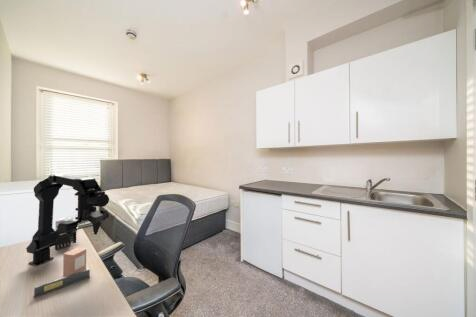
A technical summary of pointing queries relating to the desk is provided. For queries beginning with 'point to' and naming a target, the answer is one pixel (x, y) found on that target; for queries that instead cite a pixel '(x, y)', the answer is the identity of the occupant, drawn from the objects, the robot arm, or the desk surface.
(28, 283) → the desk surface
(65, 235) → the battery charger
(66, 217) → the syrup box
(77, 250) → the carton
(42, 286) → the rail
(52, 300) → the desk surface
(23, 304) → the desk surface
